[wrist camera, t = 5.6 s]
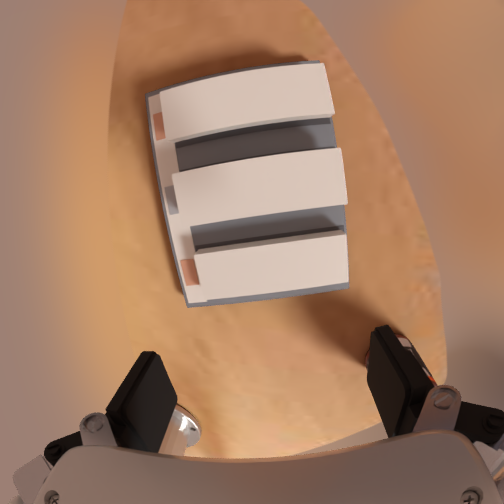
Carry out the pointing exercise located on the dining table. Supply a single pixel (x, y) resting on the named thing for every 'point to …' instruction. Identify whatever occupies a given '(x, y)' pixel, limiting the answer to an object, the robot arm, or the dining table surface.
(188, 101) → the switch
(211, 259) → the switch
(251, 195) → the middle switch
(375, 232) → the dining table surface
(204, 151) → the switch board
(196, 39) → the dining table surface
